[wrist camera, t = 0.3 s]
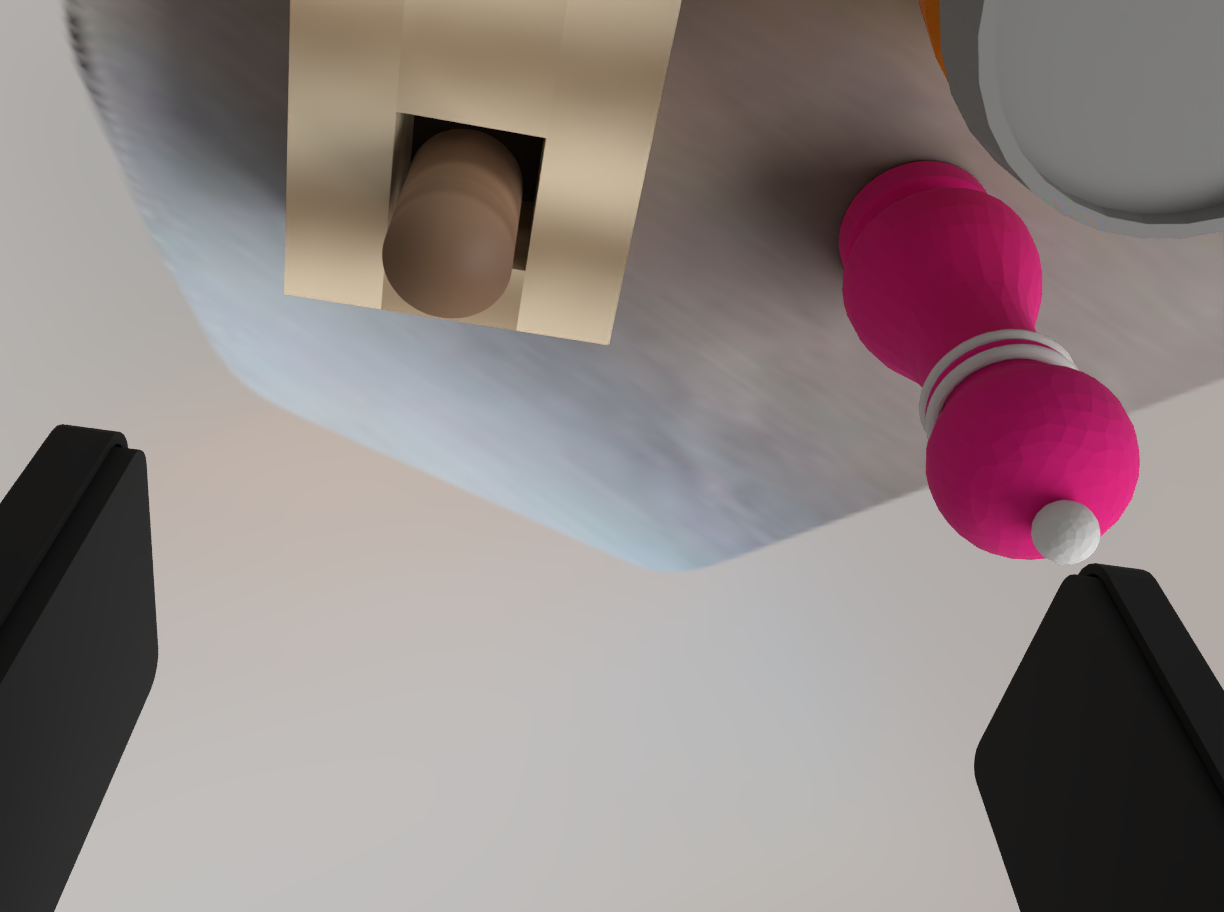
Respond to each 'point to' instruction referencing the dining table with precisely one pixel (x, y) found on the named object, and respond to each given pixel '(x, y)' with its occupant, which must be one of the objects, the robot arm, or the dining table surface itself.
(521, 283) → the oak socket block
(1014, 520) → the pepper mill
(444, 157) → the walnut peg
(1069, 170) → the reusable coffee cup
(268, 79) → the dining table surface
